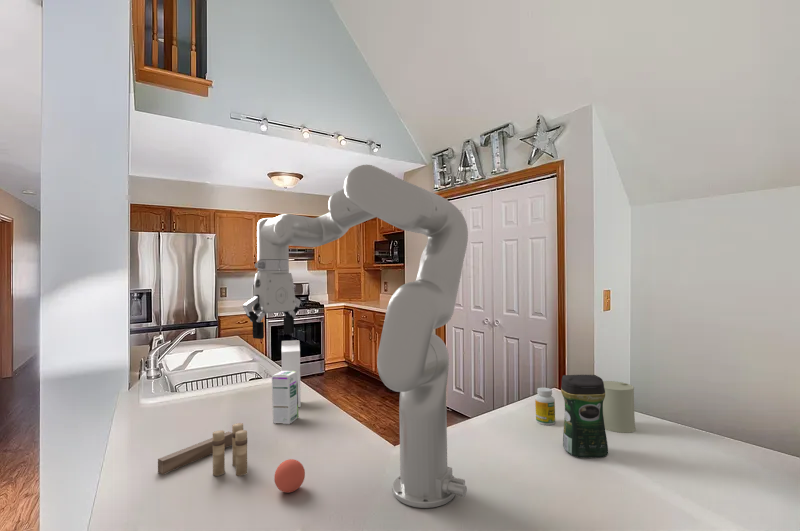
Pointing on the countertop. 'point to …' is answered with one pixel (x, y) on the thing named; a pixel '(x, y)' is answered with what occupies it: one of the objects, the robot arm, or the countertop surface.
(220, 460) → the left back pin
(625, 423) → the can
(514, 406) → the countertop surface
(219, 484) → the countertop surface
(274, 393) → the syrup box
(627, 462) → the countertop surface
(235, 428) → the right back pin
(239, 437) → the front pin
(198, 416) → the countertop surface
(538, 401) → the supplement bottle
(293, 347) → the milk
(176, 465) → the back wall
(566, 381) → the coffee jar
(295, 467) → the ball
